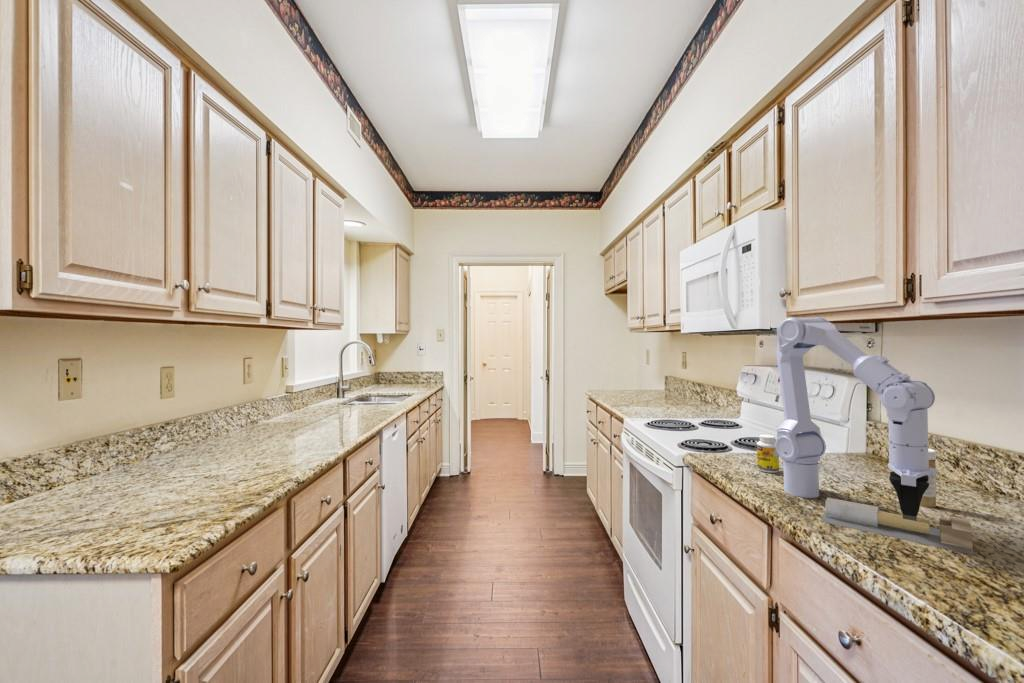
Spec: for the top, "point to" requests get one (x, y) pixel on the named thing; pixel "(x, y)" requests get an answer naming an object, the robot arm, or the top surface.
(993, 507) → the top surface
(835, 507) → the outer sleeve
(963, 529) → the socket block
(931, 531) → the base board
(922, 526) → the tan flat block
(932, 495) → the sprinkles bottle
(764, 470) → the supplement bottle
